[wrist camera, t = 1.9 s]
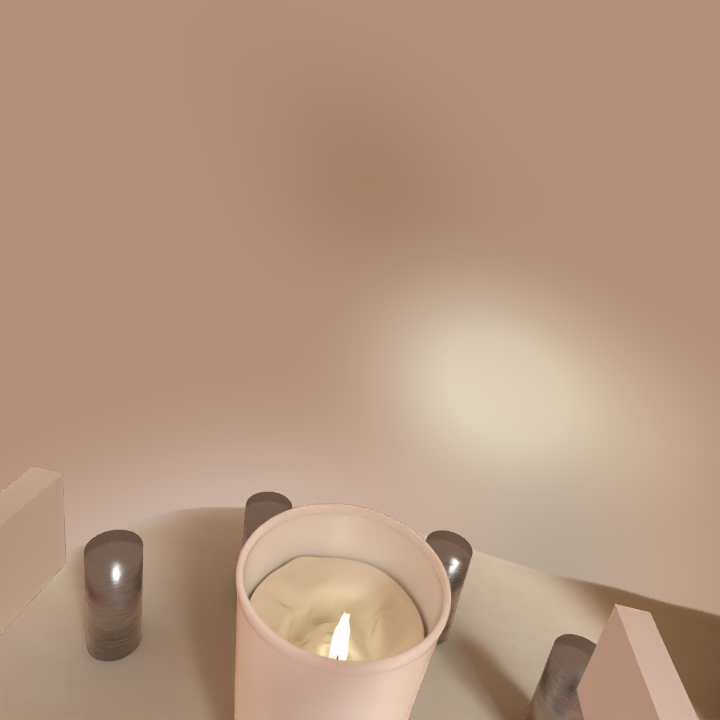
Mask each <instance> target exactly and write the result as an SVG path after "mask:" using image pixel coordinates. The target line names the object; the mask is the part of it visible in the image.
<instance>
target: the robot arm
mask: <svg viewBox="0 0 720 720" xmlns="http://www.w3.org/2000/svg"><path fill="white" fill-rule="evenodd" d="M65 564H66V545H65V518H64V491H63V474H62V473H58V472H54V471H50V470H45V469H41V468H37V467H32V468H30V469H29V470H28V471H26V472H25V473H24V474H23V475H21V476H20V477H19V478H17V479H16V480H15V481H14V482H12V483H11V484H9V485H8V486H7V487H6V488H4V489H3V490H2V491H0V635H1V634H2V633H3V631H4V630H5V629H6V628H7V627H8V626H9V625H10V624H11V623H12V622H13V621H14V619H15V618H16V617H17V616H18V615H19V614H20V613H21V612H22V611H23V610H24V609H25V607H26V606H27V605H28V604H29V603H30V602H31V601H32V600H33V599H34V598H35V597H36V595H37V594H38V593H39V592H40V591H41V590H42V589H43V588H44V587H45V586H46V585H47V583H48V582H49V581H50V580H51V579H52V578H53V577H54V576H55V575H56V574H57V573H58V572H59V570H60V569H61V568H62V567H63V566H64V565H65ZM577 694H578V698H579V702H580V706H581V710H582V714H583V718H584V720H699V719H698V717H697V715H696V713H695V710H694V708H693V706H692V704H691V702H690V699H689V697H688V695H687V693H686V691H685V688H684V686H683V684H682V682H681V679H680V677H679V675H678V673H677V671H676V668H675V666H674V664H673V662H672V660H671V657H670V655H669V653H668V651H667V649H666V646H665V644H664V642H663V640H662V637H661V635H660V633H659V631H658V629H657V626H656V624H655V622H654V620H653V618H652V615H651V613H650V612H647V611H643V610H639V609H634V608H630V607H626V606H622V605H618V604H615V606H614V608H613V610H612V612H611V615H610V617H609V619H608V621H607V623H606V626H605V628H604V630H603V632H602V634H601V637H600V639H599V641H598V643H597V645H596V648H595V650H594V652H593V654H592V656H591V659H590V661H589V663H588V665H587V668H586V670H585V672H584V674H583V676H582V679H581V681H580V683H579V685H578V687H577Z"/></svg>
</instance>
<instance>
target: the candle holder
mask: <svg viewBox="0 0 720 720" xmlns="http://www.w3.org/2000/svg"><path fill="white" fill-rule="evenodd" d="M236 589H237V617H236V656H235V696H234V720H408V718H409V715H410V712H411V710H412V707H413V704H414V702H415V699H416V697H417V694H418V691H419V689H420V686H421V683H422V681H423V678H424V675H425V673H426V670H427V668H428V665H429V662H430V660H431V657H432V654H433V652H434V649H435V646H436V644H437V641H438V639H439V636H440V635H441V633H442V631H443V629H444V627H445V625H446V623H447V620H448V617H449V613H450V608H451V588H450V583H449V579H448V576H447V573H446V570H445V568H444V566H443V564H442V562H441V560H440V559H439V557H438V556H437V554H436V553H435V552H434V550H433V549H432V548H431V547H430V545H429V544H428V543H427V542H426V541H425V540H424V539H423V538H422V537H420V536H419V535H418V534H417V533H416V532H414V531H413V530H411V529H410V528H409V527H407V526H406V525H404V524H403V523H401V522H399V521H397V520H395V519H393V518H391V517H389V516H387V515H385V514H382V513H380V512H377V511H374V510H371V509H367V508H363V507H358V506H354V505H347V504H336V503H323V504H312V505H306V506H301V507H297V508H293V509H290V510H287V511H285V512H282V513H280V514H278V515H276V516H274V517H272V518H271V519H269V520H268V521H266V522H265V523H263V524H262V525H261V526H260V527H258V528H257V529H256V530H255V531H254V532H253V534H252V535H251V536H250V537H249V539H248V540H247V541H246V543H245V545H244V547H243V548H242V551H241V553H240V556H239V559H238V563H237V568H236Z"/></svg>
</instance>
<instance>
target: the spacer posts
mask: <svg viewBox="0 0 720 720" xmlns="http://www.w3.org/2000/svg"><path fill="white" fill-rule="evenodd" d="M290 509H292V504H291V502H290V501H289V500H288V498H286V497H285V496H283V495H281V494H279V493H275V492H261V493H257V494H255V495H253V496H251V497H250V498H249V499H248V500H247V503H246V510H245V520H244V530H243V540H242V548H243V547H244V545H245V543H246V541H247V540H248V539H249V537H250V536H251V535H252V534H253V532H254V531H255V530H256V529H257V528H258V527H260V526H261V525H262V524H263V523H265V522H266V521H268V520H269V519H271V518H272V517H274V516H276V515H278V514H280V513H282V512H285V511H287V510H290ZM426 542H427V543H428V544H429V545H430V547H431V548H432V549H433V550H434V552H435V553H436V554H437V556H438V557H439V559H440V560H441V562H442V564H443V566H444V568H445V570H446V573H447V576H448V579H449V583H450V588H451V608H450V613H449V617H448V620H447V623H446V625H445V627H444V629H443V631H442V633H441V635H440V636H439V639H438V641H437V644H436V645H438V644H441V643H442V642H444V641H445V640H446V639H447V637H448V634H449V631H450V627H451V624H452V621H453V617H454V614H455V611H456V607H457V604H458V600H459V597H460V594H461V590H462V587H463V584H464V580H465V577H466V574H467V570H468V567H469V564H470V560H471V557H472V548H471V546H470V544H469V543H468V542H467V541H466V540H465V539H464V538H463V537H461V536H460V535H458V534H456V533H453V532H450V531H435V532H432V533H431V534H429V535H428V537H427V540H426ZM241 551H242V550H241ZM84 563H85V591H86V620H87V647H88V651H89V653H90V654H91V655H92V656H93V657H94V658H96V659H98V660H102V661H114V660H118V659H121V658H123V657H126V656H127V655H129V654H130V653H132V652H133V651H134V650H135V649H136V648H137V646H138V645H139V643H140V641H141V637H142V576H143V542H142V539H141V538H140V537H139V536H138V535H137V534H135V533H133V532H131V531H127V530H112V531H108V532H104V533H102V534H99V535H97V536H96V537H94V538H93V539H92V540H90V541H89V542H88V544H87V545H86V547H85V550H84ZM595 648H596V644H594V643H593V642H591V641H590V640H588V639H586V638H584V637H581V636H578V635H573V634H565V635H562V636H560V637H558V638H557V639H556V640H555V642H554V645H553V647H552V650H551V652H550V655H549V657H548V660H547V662H546V665H545V667H544V670H543V672H542V675H541V677H540V680H539V682H538V685H537V687H536V690H535V692H534V695H533V697H532V700H531V702H530V705H529V707H528V710H527V712H526V715H525V717H524V720H584V718H583V714H582V710H581V706H580V702H579V698H578V694H577V687H578V685H579V683H580V681H581V679H582V676H583V674H584V672H585V670H586V668H587V665H588V663H589V661H590V659H591V656H592V654H593V652H594V650H595Z"/></svg>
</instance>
